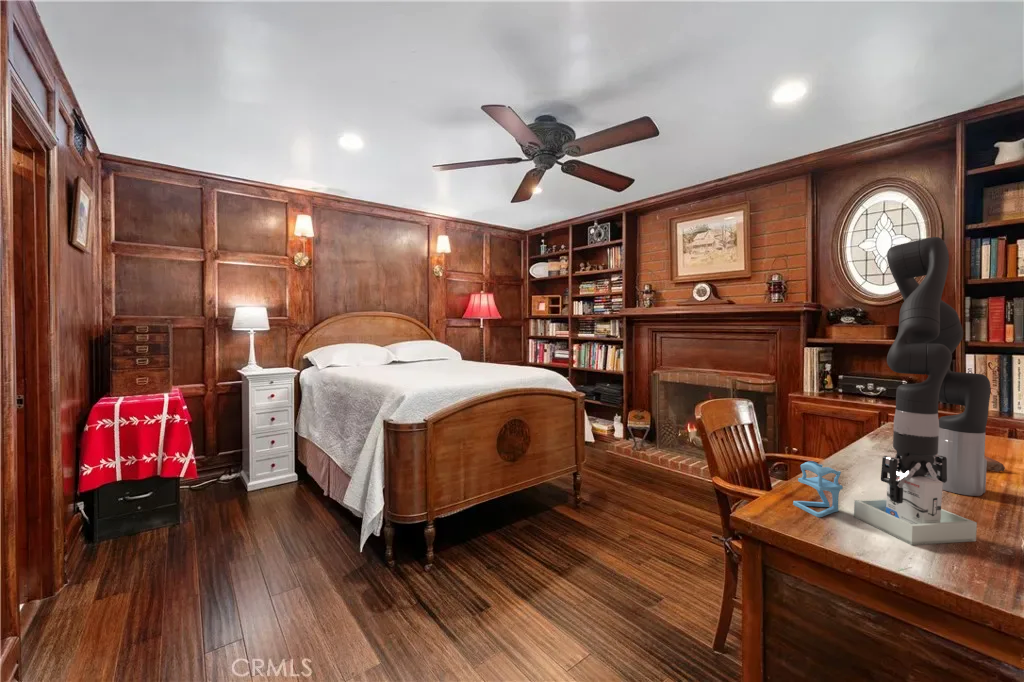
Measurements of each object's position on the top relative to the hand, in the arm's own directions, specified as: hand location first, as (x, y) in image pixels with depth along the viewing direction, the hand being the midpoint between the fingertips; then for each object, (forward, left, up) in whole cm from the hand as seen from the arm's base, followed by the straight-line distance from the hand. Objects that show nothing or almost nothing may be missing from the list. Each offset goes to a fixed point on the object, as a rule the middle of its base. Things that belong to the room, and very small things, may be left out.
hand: (912, 501), depth 99 cm
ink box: (0, 0, -6) cm, 6 cm away
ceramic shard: (-63, -39, -7) cm, 74 cm away
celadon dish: (0, 0, -6) cm, 6 cm away
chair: (+13, -11, -6) cm, 18 cm away
